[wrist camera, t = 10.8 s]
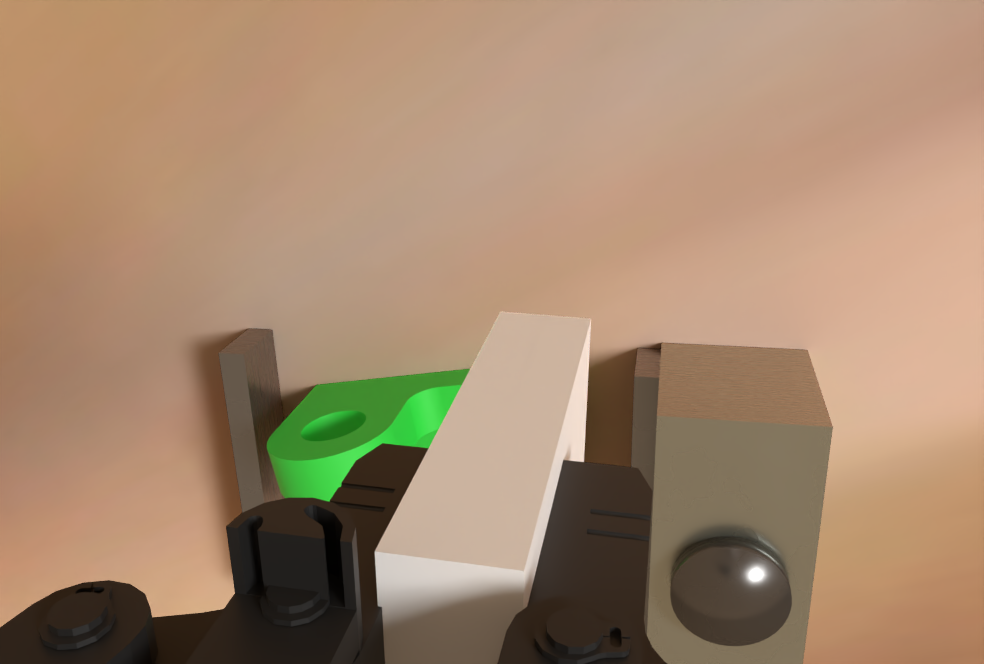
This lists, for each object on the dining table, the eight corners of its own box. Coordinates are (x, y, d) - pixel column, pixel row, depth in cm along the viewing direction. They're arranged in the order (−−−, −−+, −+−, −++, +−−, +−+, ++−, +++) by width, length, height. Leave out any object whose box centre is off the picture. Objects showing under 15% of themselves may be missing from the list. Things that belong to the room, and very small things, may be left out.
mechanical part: (348, 491, 45) (283, 590, 38) (318, 383, 43) (243, 465, 36) (584, 474, 42) (563, 578, 35) (563, 357, 40) (536, 441, 33)
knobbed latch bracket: (247, 322, 42) (159, 392, 35) (807, 349, 37) (836, 438, 30) (281, 569, 47) (209, 674, 40) (777, 622, 43) (795, 751, 35)
